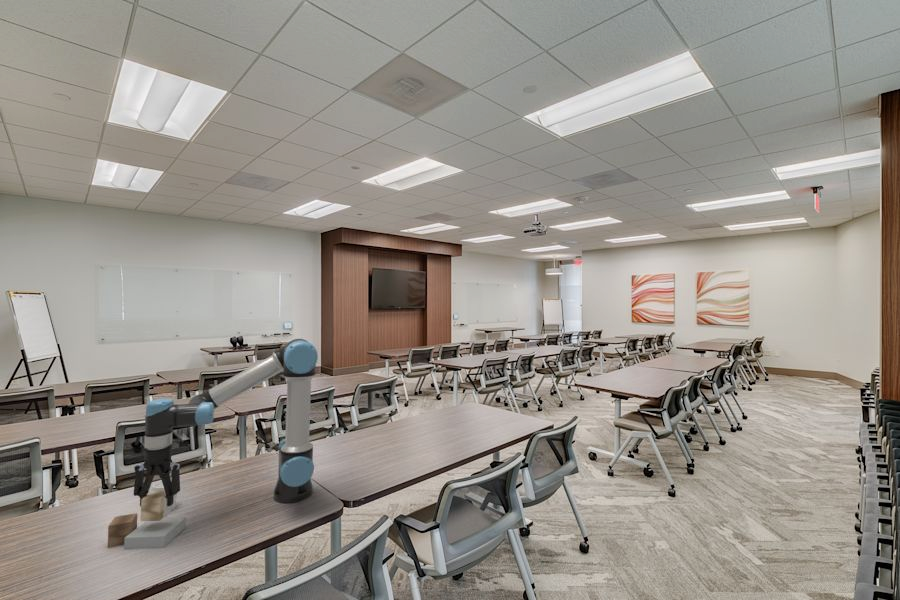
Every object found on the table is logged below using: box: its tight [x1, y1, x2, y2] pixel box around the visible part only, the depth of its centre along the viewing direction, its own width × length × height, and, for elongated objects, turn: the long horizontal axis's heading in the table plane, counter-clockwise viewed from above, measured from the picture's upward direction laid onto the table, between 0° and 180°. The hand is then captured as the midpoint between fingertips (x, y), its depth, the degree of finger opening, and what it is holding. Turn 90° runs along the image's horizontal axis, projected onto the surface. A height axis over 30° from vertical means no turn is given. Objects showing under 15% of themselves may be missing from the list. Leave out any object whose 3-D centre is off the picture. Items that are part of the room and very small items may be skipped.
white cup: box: [152, 479, 178, 511], centre depth 150 cm, size 8×8×10 cm
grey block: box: [123, 516, 187, 550], centre depth 131 cm, size 12×12×4 cm
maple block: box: [140, 490, 172, 522], centre depth 132 cm, size 6×6×7 cm
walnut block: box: [107, 512, 138, 548], centre depth 130 cm, size 6×6×7 cm
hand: (156, 515), depth 131 cm, fingers closed on maple block, 6 cm apart
